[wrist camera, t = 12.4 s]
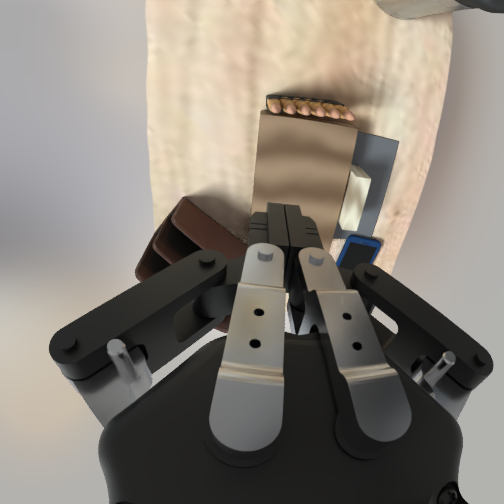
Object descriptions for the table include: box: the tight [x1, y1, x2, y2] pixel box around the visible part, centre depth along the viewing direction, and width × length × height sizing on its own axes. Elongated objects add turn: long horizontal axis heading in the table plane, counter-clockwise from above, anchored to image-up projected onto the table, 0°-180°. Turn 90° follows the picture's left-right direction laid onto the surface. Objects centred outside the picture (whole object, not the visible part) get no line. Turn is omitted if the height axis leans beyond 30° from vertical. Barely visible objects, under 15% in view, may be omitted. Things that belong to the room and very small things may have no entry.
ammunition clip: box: [266, 95, 355, 121], centre depth 33 cm, size 11×2×12 cm, turn 89°
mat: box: [333, 132, 398, 239], centre depth 46 cm, size 20×9×1 cm, turn 175°
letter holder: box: [135, 197, 248, 333], centre depth 48 cm, size 10×20×14 cm, turn 48°
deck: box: [251, 111, 358, 253], centre depth 44 cm, size 22×14×4 cm, turn 175°
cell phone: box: [336, 235, 381, 271], centre depth 55 cm, size 7×14×1 cm, turn 169°
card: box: [338, 165, 371, 231], centre depth 43 cm, size 9×6×2 cm
